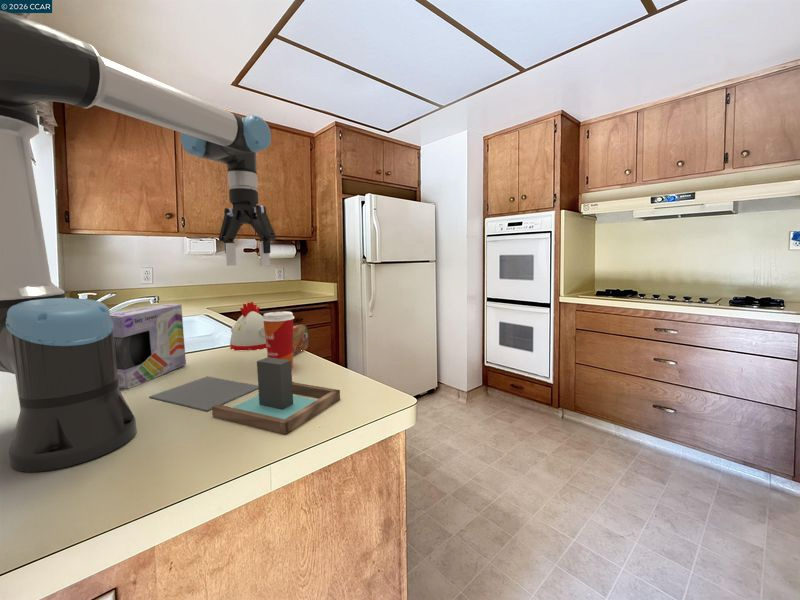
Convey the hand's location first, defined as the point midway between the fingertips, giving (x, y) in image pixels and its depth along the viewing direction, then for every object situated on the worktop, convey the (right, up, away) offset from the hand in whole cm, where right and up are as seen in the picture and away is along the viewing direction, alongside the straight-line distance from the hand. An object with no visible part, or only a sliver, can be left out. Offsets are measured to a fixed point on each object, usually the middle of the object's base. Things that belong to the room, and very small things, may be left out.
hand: (248, 265), depth 104 cm
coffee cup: (+12, -29, -6) cm, 31 cm away
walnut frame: (+19, -31, -31) cm, 48 cm away
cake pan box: (-19, -30, -12) cm, 37 cm away
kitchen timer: (-6, -26, +19) cm, 33 cm away
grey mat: (+1, -31, -23) cm, 38 cm away
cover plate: (+19, -32, -31) cm, 48 cm away
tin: (+11, -27, +9) cm, 30 cm away
